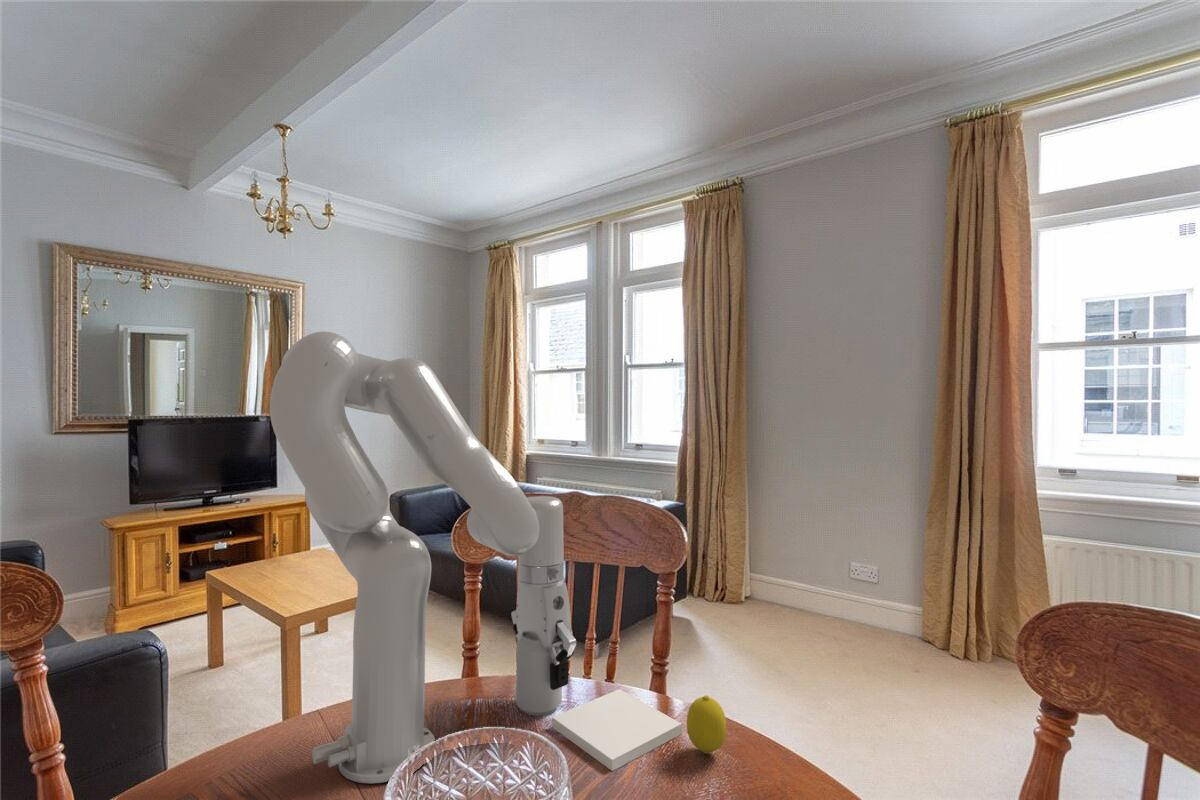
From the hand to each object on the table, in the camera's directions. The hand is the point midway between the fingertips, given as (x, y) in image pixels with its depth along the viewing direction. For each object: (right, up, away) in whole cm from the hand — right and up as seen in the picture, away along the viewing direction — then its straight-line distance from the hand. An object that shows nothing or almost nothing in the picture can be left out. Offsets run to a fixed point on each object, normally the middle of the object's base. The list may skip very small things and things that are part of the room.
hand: (542, 675), depth 93 cm
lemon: (+25, -5, -13) cm, 28 cm away
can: (0, -5, 0) cm, 5 cm away
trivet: (+12, -5, -8) cm, 15 cm away
